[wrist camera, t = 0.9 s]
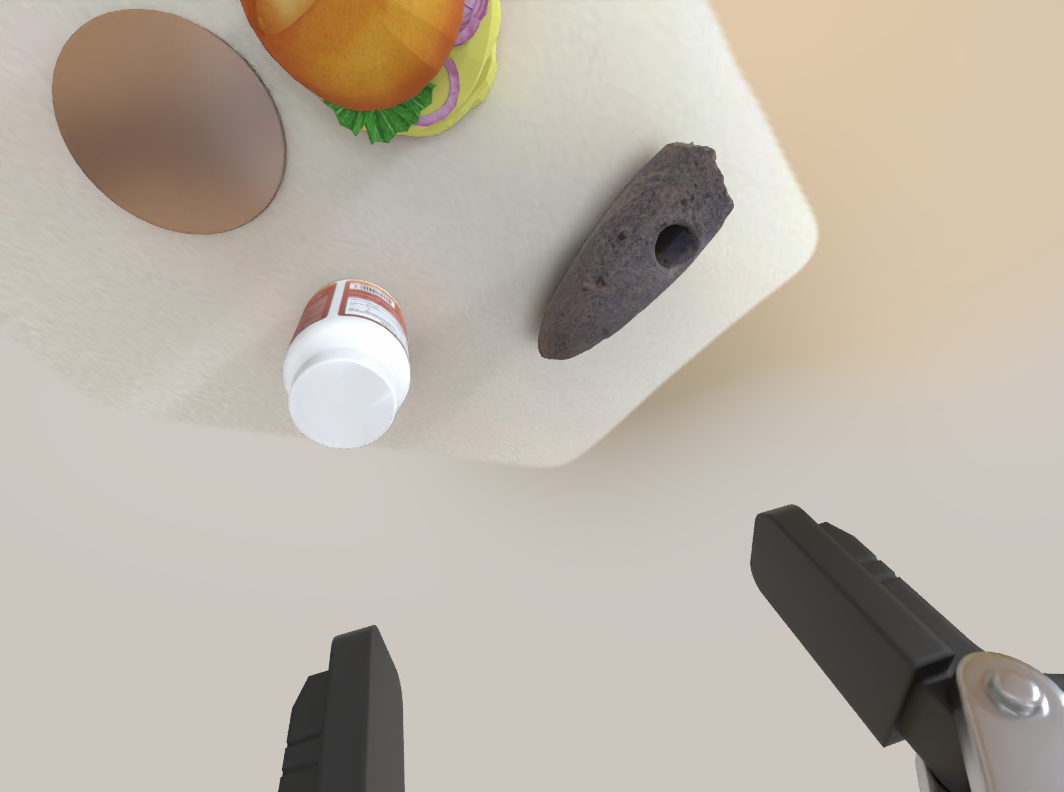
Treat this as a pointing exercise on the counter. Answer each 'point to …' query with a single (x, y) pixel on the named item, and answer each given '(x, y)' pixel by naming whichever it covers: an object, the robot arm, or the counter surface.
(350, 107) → the cheeseburger
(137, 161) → the coaster
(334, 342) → the pill bottle
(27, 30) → the counter surface
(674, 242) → the perforated stone tool
